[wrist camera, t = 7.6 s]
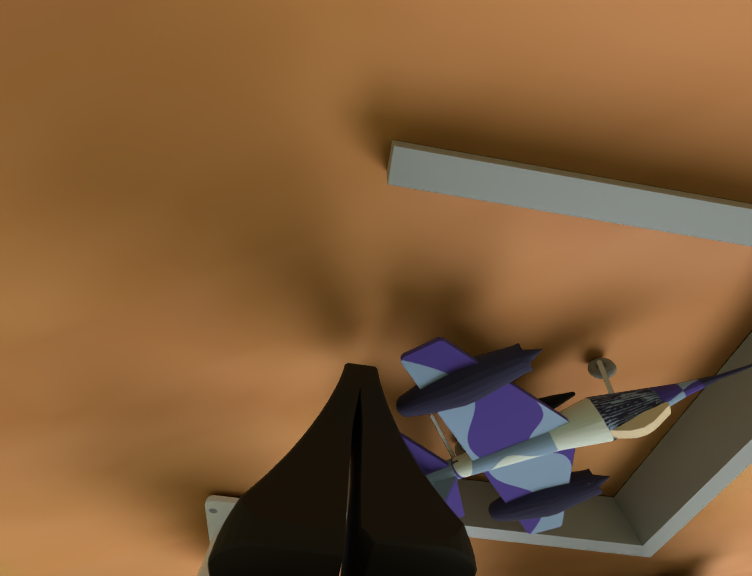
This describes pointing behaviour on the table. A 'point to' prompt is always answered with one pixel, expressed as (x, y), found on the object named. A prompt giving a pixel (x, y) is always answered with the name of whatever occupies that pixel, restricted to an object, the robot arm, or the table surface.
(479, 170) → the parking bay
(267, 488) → the robot arm
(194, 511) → the table surface
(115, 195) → the table surface
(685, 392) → the toy airplane
